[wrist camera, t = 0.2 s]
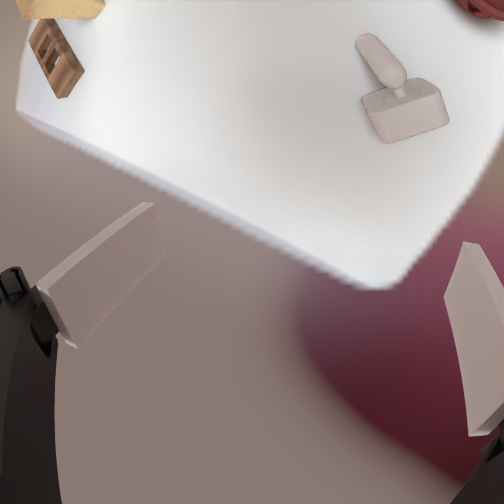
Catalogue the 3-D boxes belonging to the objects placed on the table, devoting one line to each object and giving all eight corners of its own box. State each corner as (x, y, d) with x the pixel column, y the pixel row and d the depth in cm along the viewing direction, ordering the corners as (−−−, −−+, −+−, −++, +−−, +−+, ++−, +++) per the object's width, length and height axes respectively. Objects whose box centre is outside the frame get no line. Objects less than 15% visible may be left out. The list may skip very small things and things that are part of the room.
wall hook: (391, 24, 24) (415, 23, 17) (424, 98, 29) (453, 123, 22) (332, 45, 28) (336, 50, 21) (369, 117, 33) (383, 146, 26)
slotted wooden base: (37, 39, 38) (28, 40, 36) (51, 14, 34) (42, 15, 32) (67, 96, 43) (57, 98, 41) (84, 70, 39) (74, 71, 37)
